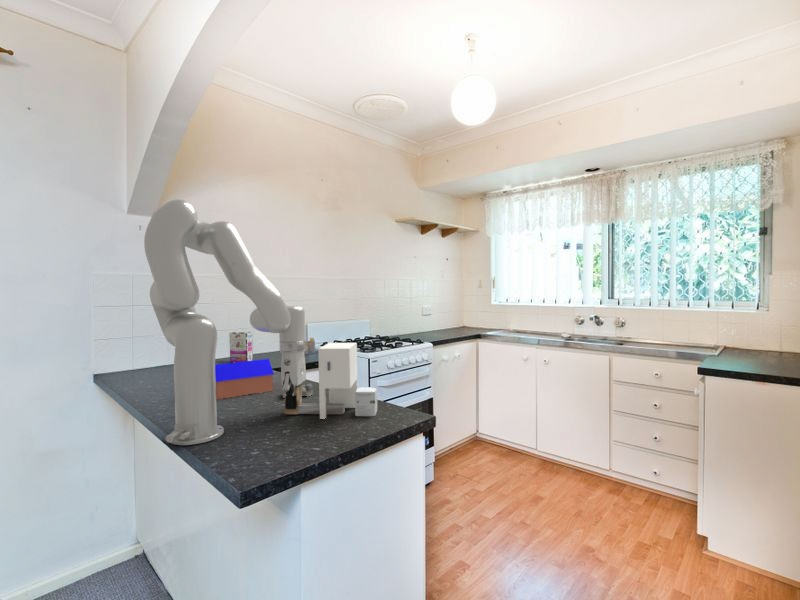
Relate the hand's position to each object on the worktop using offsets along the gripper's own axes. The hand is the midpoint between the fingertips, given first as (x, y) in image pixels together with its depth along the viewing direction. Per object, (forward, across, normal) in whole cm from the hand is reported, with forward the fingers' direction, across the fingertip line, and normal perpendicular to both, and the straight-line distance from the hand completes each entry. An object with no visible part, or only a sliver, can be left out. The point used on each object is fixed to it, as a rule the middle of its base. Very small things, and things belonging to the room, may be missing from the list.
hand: (293, 405), depth 122 cm
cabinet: (+2, +1, -14) cm, 14 cm away
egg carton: (+3, +21, +5) cm, 22 cm away
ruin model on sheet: (+3, +119, +32) cm, 123 cm away
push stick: (+2, 0, -7) cm, 7 cm away
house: (+3, +26, +28) cm, 38 cm away
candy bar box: (+2, +90, +58) cm, 107 cm away
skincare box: (+2, 0, -22) cm, 23 cm away
